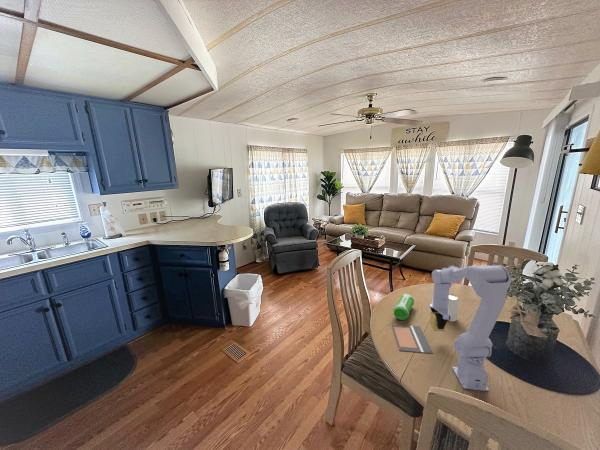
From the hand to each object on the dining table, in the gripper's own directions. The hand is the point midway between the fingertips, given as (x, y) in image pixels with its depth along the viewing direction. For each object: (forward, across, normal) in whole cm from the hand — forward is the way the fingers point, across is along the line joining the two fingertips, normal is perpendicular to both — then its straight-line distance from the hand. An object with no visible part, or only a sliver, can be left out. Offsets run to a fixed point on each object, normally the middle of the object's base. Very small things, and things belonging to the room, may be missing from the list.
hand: (438, 324), depth 108 cm
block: (+2, 0, 0) cm, 2 cm away
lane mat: (+8, 0, -11) cm, 13 cm away
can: (+8, -18, +12) cm, 23 cm away
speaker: (+8, -21, -9) cm, 24 cm away
